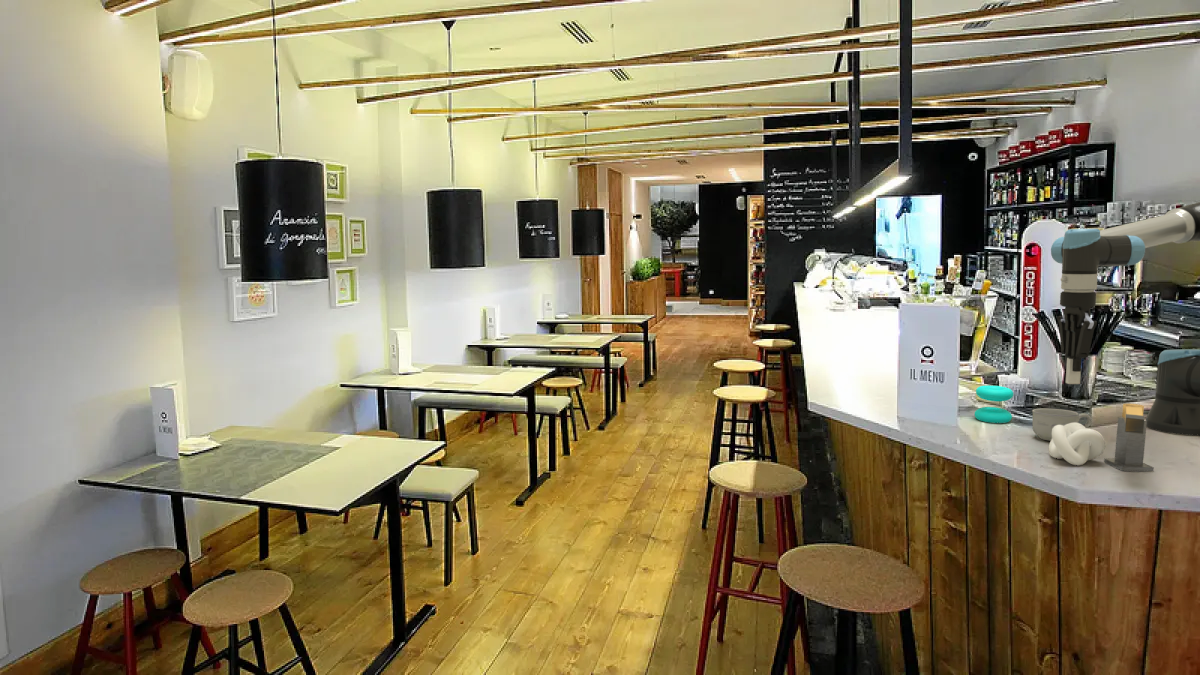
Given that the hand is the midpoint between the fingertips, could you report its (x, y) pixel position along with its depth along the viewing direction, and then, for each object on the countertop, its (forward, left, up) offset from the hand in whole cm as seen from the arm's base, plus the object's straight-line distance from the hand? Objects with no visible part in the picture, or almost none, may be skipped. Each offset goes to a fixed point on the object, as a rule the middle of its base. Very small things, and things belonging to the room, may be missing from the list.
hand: (1072, 383), depth 186 cm
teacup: (-4, -11, -18) cm, 21 cm away
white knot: (+4, +9, -18) cm, 21 cm away
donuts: (+4, -33, -18) cm, 38 cm away
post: (-7, +13, -18) cm, 23 cm away
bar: (-3, +19, -6) cm, 20 cm away
